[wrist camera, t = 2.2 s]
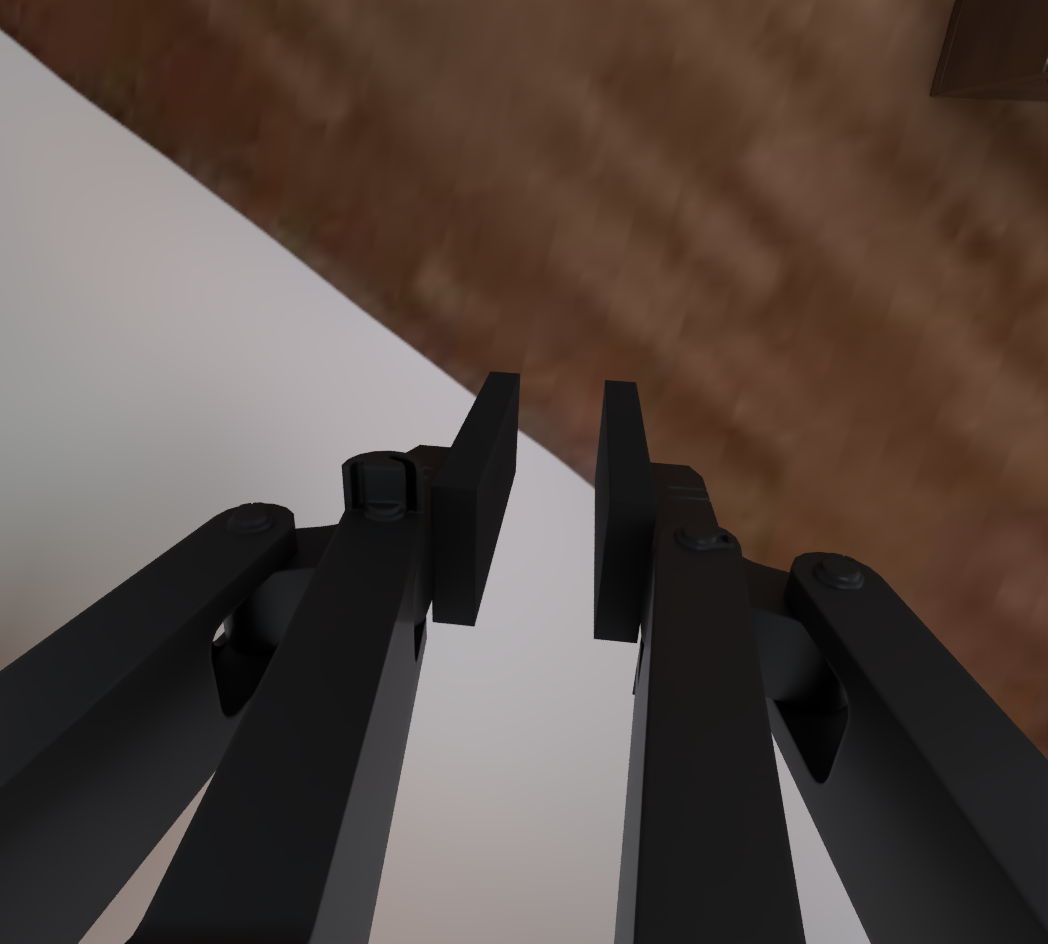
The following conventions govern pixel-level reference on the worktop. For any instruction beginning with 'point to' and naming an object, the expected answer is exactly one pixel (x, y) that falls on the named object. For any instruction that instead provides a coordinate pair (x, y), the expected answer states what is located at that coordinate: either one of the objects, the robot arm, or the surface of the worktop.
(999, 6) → the chest
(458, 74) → the worktop surface
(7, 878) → the robot arm
